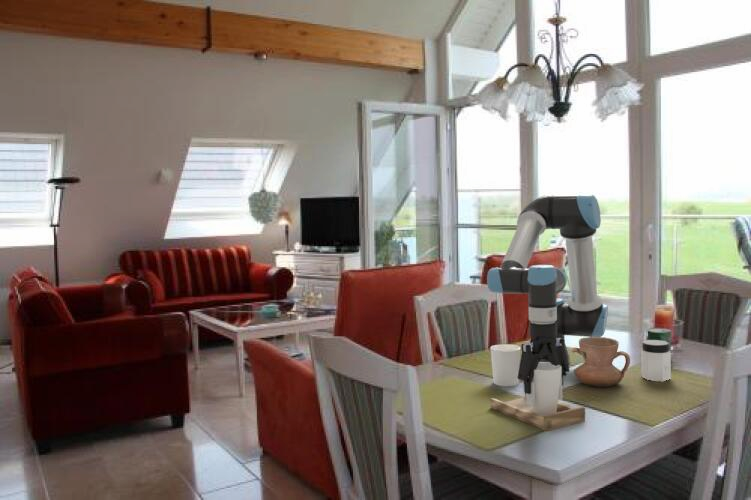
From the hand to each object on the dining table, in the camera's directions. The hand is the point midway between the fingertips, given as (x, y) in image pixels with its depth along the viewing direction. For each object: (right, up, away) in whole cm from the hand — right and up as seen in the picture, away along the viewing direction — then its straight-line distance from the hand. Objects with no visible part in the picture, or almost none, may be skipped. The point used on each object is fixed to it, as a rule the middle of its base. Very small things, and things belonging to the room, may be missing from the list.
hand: (544, 401), depth 179 cm
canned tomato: (+57, +2, +57) cm, 81 cm away
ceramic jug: (+26, -2, +30) cm, 40 cm away
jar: (+46, -1, +34) cm, 57 cm away
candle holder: (-4, -2, +35) cm, 35 cm away
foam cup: (0, -3, 0) cm, 3 cm away
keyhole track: (-1, -4, +3) cm, 6 cm away
